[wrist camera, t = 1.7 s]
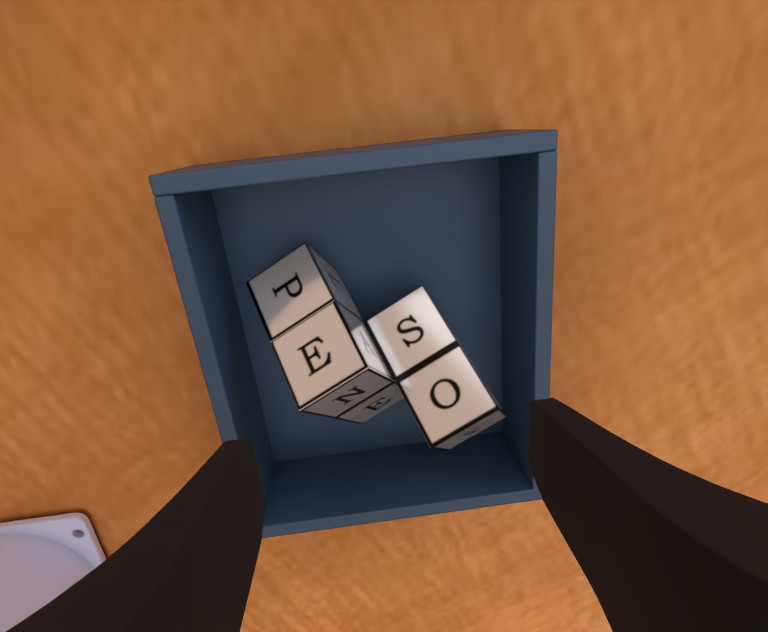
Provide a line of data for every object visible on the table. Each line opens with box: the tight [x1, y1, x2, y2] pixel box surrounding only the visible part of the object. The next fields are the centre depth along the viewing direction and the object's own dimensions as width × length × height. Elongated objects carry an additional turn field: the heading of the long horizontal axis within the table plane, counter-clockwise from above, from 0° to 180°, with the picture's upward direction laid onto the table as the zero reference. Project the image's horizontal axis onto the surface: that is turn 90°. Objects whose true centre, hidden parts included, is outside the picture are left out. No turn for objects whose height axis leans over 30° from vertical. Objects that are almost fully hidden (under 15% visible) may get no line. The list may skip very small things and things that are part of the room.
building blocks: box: [246, 242, 507, 451], centre depth 18 cm, size 5×5×8 cm
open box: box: [149, 130, 558, 538], centre depth 19 cm, size 14×12×4 cm
